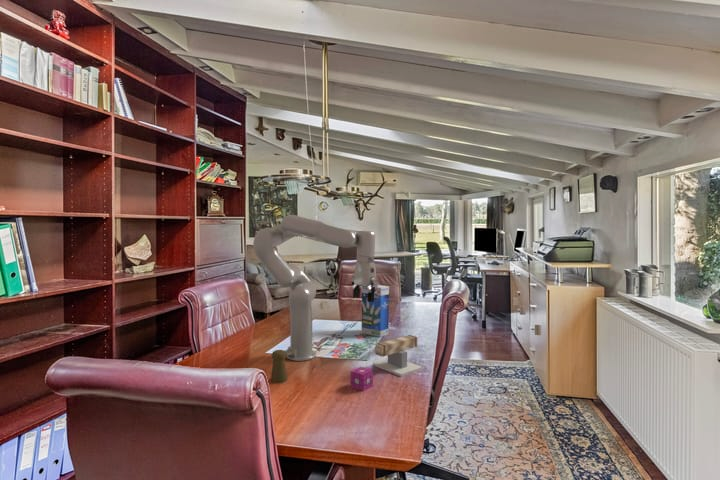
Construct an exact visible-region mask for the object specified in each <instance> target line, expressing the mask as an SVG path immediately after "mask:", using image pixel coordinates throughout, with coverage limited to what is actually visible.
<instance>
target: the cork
mask: <svg viewBox="0 0 720 480" xmlns="http://www.w3.org/2000/svg"><path fill="white" fill-rule="evenodd" d="M286 358H287V356H286V352H285V351H284V350H283V349H276V350H273V351H272V353H271V359H272V369H271V375H270V376H271V377H270V382H271V383H273V384H282V383H283V384H284V383H285V382H288V375H287V367H286V360H285V359H286Z"/></svg>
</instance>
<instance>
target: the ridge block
mask: <svg viewBox="0 0 720 480" xmlns="http://www.w3.org/2000/svg"><path fill="white" fill-rule="evenodd" d="M372 366H374V367H377V368H379V369H381V370H384V371H386V372H389V373H391V374H392V375H395V376H398V377H404V376H407V375H410V374H413V373H417V372H420V371H421V370H423V366H421V365H418V364H416V363H413V362H410V361H408V351H406V350H404V351H400V352H397V353H394V354H390V355H387V358H385V359H382V360H381V359H380V360H378V361H374V362H373V363H372Z"/></svg>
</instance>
